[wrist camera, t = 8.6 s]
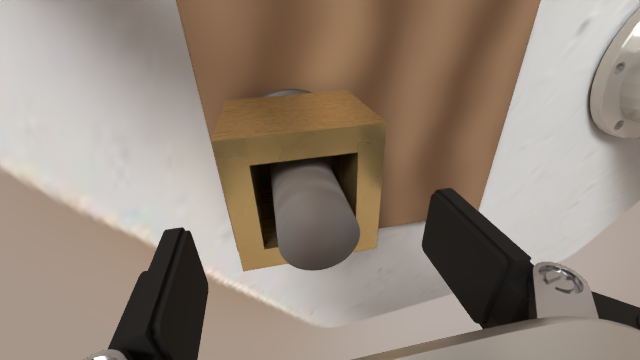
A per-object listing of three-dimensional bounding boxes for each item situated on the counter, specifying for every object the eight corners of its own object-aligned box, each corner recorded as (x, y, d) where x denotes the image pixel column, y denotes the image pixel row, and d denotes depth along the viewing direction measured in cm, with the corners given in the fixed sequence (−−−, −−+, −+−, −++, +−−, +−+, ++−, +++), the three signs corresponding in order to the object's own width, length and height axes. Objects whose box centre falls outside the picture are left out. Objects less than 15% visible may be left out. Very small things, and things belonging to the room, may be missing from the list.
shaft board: (525, -16, 19) (802, -44, 9) (467, 202, 27) (579, 302, 18) (181, -4, 15) (70, -30, 6) (238, 238, 24) (229, 382, 15)
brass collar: (346, 89, 17) (386, 122, 12) (345, 189, 21) (376, 247, 16) (224, 100, 16) (211, 141, 11) (245, 203, 20) (243, 271, 14)
